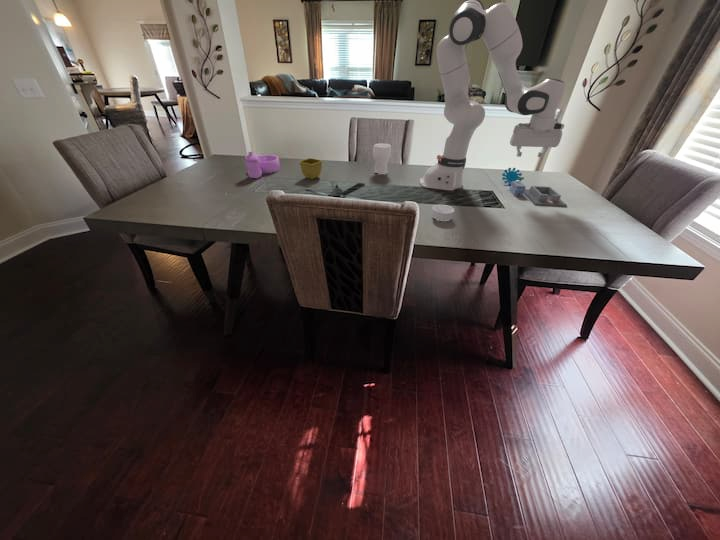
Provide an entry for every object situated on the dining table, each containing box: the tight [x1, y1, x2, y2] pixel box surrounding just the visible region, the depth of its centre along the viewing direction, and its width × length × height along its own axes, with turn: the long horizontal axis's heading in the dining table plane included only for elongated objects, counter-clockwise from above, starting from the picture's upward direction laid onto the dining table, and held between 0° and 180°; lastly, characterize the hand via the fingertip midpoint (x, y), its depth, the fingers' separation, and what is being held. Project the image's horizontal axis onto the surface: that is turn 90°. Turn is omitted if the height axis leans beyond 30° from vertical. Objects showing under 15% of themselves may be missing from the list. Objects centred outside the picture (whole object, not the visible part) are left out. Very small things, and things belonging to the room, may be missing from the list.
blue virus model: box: [501, 167, 525, 186], centre depth 152 cm, size 11×6×10 cm
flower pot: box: [299, 157, 323, 180], centre depth 153 cm, size 9×9×9 cm
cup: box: [372, 142, 393, 175], centre depth 159 cm, size 11×11×15 cm
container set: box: [244, 151, 281, 179], centre depth 158 cm, size 25×15×13 cm, turn 169°
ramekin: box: [431, 204, 455, 221], centre depth 117 cm, size 9×9×4 cm
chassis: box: [523, 185, 568, 208], centre depth 135 cm, size 14×18×4 cm
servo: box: [508, 180, 527, 197], centre depth 139 cm, size 4×10×6 cm, turn 174°
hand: (529, 156), depth 131 cm, fingers open, 8 cm apart
